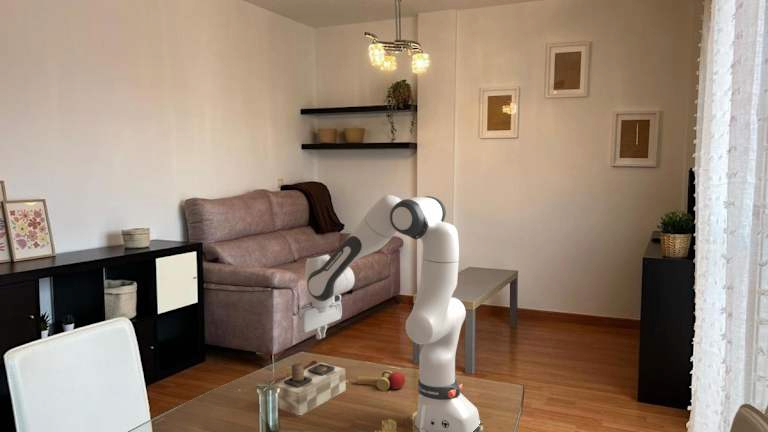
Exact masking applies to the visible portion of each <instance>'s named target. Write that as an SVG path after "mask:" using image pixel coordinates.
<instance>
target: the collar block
mask: <svg viewBox="0 0 768 432" xmlns="http://www.w3.org/2000/svg"><path fill="white" fill-rule="evenodd" d="M320 366H325V367H327V369H326V370H324V371H318V370H316V368H317V367H320ZM346 383H347V380H346V368H344V367H339V366H337V365H336V366H335V365H333V364H332V365H331V364H329V363H328V364H327V363H325V362H321V361H319V362H317V364H315V365H313V366H311V367H309V368H307V369H305V370H304V381H302V382H300V383H295V382H292V376H290V377H288V378H284V379H281V380H280V381H278V382H276V383H275V382H274V383H273V384H272V386H273V385H277V386H279V387H280V392H279V405H280V408H282V409H284V410H287V411H289V412H292V413H295V414H297V415H296V416H298V415H301V416H303V415H305V414H307V413H309V412H310V411H312V410H314V409H315V408H317V407H319V406H321V405H323V404H324V403H326V402H327V401H329V400H331V399H333V398H336V396H338V395H340V394H342V393H344V392H345V391H347V384H346ZM289 412H288V413H289ZM292 413H291V414H292ZM295 414H294V415H295Z"/></svg>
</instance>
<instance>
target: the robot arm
mask: <svg viewBox="0 0 768 432" xmlns="http://www.w3.org/2000/svg"><path fill="white" fill-rule="evenodd" d="M446 211H447V210H446V206H445V205H444V203H443V201H441V200H440V199H438V198H437V197H434V196H426V195H425V196H413V197H410V198H404V199H401V198H399V197H397V196H396V195H392V194H388V195H387V194H386V195H384V196H383V197H381V198H380V199H379V200H377V202H376V203H374V205H373V206H372V207H371V208H370V209H369V210H368V211H367V213H366V214H365V216H363V218H362V220H361V221H360V222H359V224H358V225H357V226H356V227H355V228H354V230H353V231H352V232H351V234H349V236H348V237H347V238H346V239H345V240H344V241H343V242H342V243H341V245H340V246H339V247H338V248H337V249H336V250H335V251H334V252H333V254H332V255H329V254H327V253H319V254H313V255H310V256H308V258H307V259H306V262H305V270H304V271H305V283H306V289H305V290H306V291H305V292H306V293H305V294H306V304H303V305H301V306H300V308H299V309H298V312H297V318H296V319H297V322H296V328H297V329H296V330H297V332H299V333H305V334H306V333H310V332H312V331H313V332H314V333H315V339H317V340H321V339H323V338H325V337H326V331H327V329H328V325H329V324H331V323H334V322H336V321H337V322H338V320H341V318H342V316H343V310H342V309H343V308H342V307H343V306H342V302H341V301H342V295H341V294H343V293H346V292H348V291H350V290H352V289H353V287H354V286H355V283H356V276H355V272H354V270H353V269H352V268H351V267H350V266H351V265H352V264H353V263H354V262H356V261H357V260H359V259H361V258H362V257H365V256H368V255H370V254H372V253H374V252H375V253H376V252H377V251H379V250H380V249H382V248H383V247H384V246H386V244H387V243H388V242H389V241H390V240H392V238H393V237H394V235H395V234H396V233H400V234H401V235H404V236H407V237H409V238H411V239H413V240H419V239H420V240H421V242H422V255H421V256H422V258H421V271H420V283H419V287H418V291H417V294H416V298H415V301H414V304H413V307H412V311H411V312H410V314H409V316H408V317H407V319H406V321H405V332H406V335H407V336H408V338H409V339H410V341H412V342H413V343H415V344H417V345H423V346H422V349H421V350H420V353H419V357H418V358H419V359H418V360H419V361H418V362H419V365H418V366H419V367H418V369H419V373H418V374H419V378H417V379H418V380H417V383H418V384H417V392H418V404H417V412H416V416H415V419H414V425H415V427H416V428H417V429H418V432H473V431H474V430H475V429H476V428H477V427H478V426H479V424H480V421H481V420H480V415H479V410H478V408H477V406H475V405H474V404H473V403H472V402H471V401H469V400H468V398H467V397H465V395H464V394H462V392H461V389H462V388H463V383H461V384H458V381H457V379H456V355H457V354H456V353H457V349H458V344H459V338H460V334H461V329H462V326H463V324H464V322H465V319H466V316H467V312H466V307H465V305H464V303H463V302H462V301H461V300H460V299H458V298H457V297H453V295H454V293H455V290H456V289H457V286H458V280H459V279H458V277H459V275H458V274H459V264H460V263H459V262H460V259H459V258H460V243H459V233H458V230H457V228H456V226H455V225H453V224H451V223H449V222H445V219H446V215H447V212H446Z"/></svg>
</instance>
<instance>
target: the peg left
mask: <svg viewBox="0 0 768 432" xmlns="http://www.w3.org/2000/svg"><path fill="white" fill-rule="evenodd" d="M304 368H305V367H304V363H301V362H297V363H293V364H292V365H291V369H292V382H295V383H300V382H302V381H304Z"/></svg>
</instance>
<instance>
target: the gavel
mask: <svg viewBox="0 0 768 432" xmlns="http://www.w3.org/2000/svg"><path fill="white" fill-rule="evenodd" d="M317 363H319V361H318V360H312V361H311V362H310V363H308V365H307V366H305V367H304V370H305V369H307V368H309V367H311V366H313V365H315V364H317ZM290 376H292V368H291V369H288V370H287V372H286V378H288V377H290ZM286 378H285V379H286Z"/></svg>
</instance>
